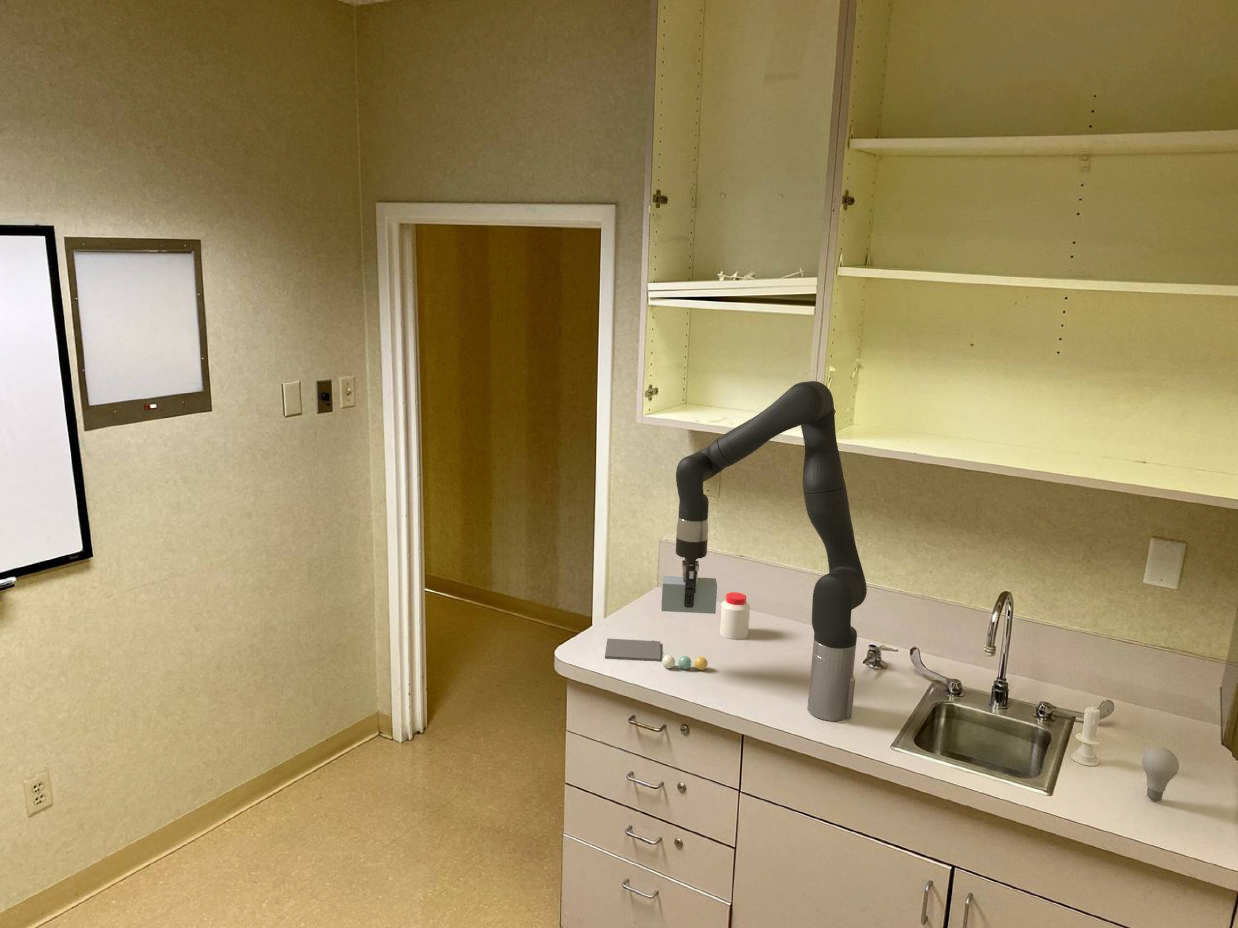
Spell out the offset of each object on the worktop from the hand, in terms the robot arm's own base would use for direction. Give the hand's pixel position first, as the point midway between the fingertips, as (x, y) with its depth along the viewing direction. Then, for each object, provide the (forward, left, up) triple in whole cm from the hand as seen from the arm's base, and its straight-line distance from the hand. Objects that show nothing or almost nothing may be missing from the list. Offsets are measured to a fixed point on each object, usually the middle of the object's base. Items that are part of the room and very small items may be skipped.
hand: (688, 602), depth 219 cm
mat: (+13, -9, -17) cm, 24 cm away
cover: (0, 0, -2) cm, 2 cm away
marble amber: (-4, 0, -17) cm, 18 cm away
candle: (-82, +33, -18) cm, 91 cm away
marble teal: (0, 0, -17) cm, 17 cm away
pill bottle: (-14, -24, -18) cm, 33 cm away
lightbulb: (-89, +47, -18) cm, 102 cm away
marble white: (+4, 0, -17) cm, 18 cm away
